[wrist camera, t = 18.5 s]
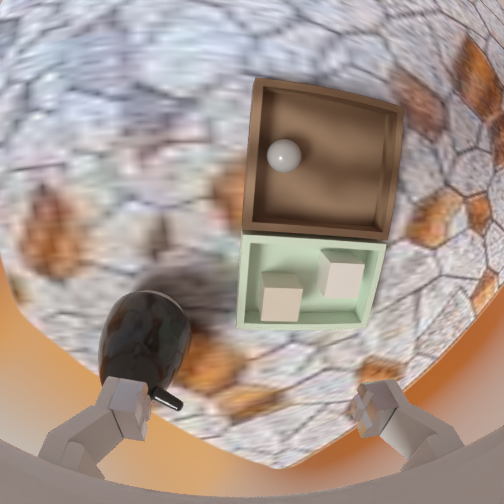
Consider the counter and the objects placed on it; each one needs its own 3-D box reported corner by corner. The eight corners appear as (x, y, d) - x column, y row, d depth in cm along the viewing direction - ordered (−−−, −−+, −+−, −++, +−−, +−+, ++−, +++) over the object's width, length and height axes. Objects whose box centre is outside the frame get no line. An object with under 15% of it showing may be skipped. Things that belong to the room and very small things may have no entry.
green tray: (241, 225, 32) (242, 234, 29) (373, 235, 34) (386, 244, 30) (235, 313, 36) (236, 328, 33) (355, 314, 37) (365, 328, 34)
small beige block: (319, 249, 33) (330, 262, 29) (351, 251, 33) (365, 264, 30) (314, 282, 34) (324, 297, 31) (345, 282, 35) (357, 297, 31)
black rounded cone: (189, 354, 38) (175, 445, 23) (116, 334, 36) (76, 415, 22) (204, 290, 35) (190, 379, 20) (122, 268, 33) (65, 341, 19)
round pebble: (266, 138, 29) (270, 136, 25) (298, 141, 29) (306, 140, 26) (263, 170, 30) (267, 172, 26) (295, 173, 30) (303, 175, 27)
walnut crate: (252, 85, 27) (255, 77, 24) (388, 110, 29) (403, 107, 25) (241, 221, 32) (243, 229, 29) (374, 231, 34) (387, 240, 30)
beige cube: (260, 272, 33) (264, 287, 30) (295, 273, 34) (303, 288, 30) (257, 303, 35) (260, 321, 31) (290, 303, 35) (297, 321, 31)
